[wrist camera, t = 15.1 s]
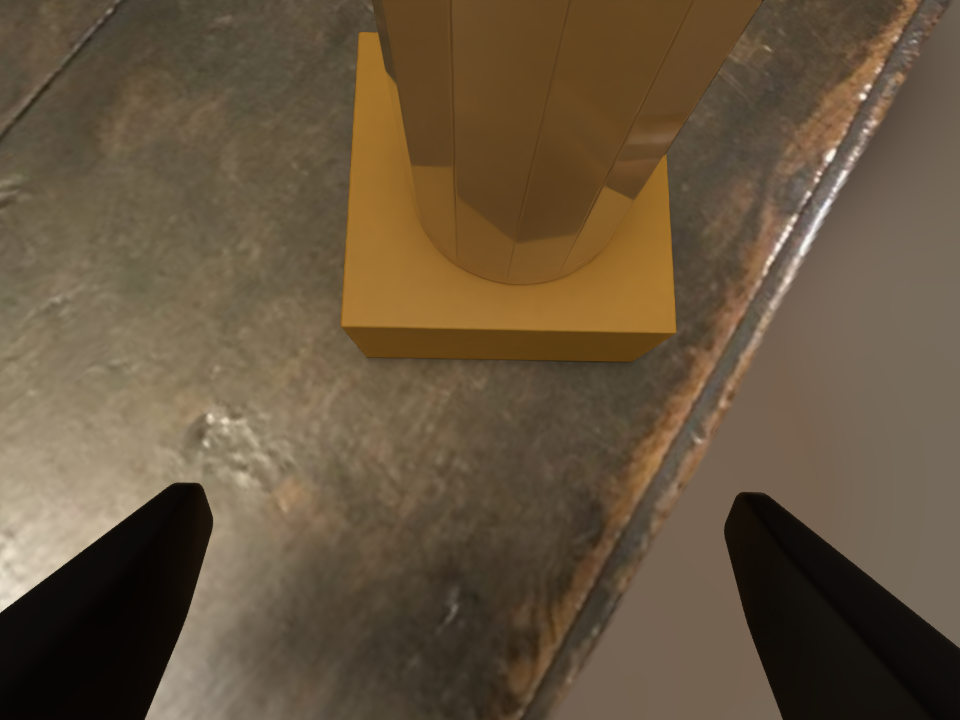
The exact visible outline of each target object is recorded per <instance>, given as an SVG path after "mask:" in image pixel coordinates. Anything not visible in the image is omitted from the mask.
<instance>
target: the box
mask: <svg viewBox="0 0 960 720" xmlns="http://www.w3.org/2000/svg"><path fill="white" fill-rule="evenodd" d="M341 327H342V328H343V329H344V331H345V332H346V333H347V334H348V335H349V337H350V338H351V339H352V340H353V341H354V343H355V344H356V345H357V346H358V347H359V349H360V350H361V351H362V352H363V353H364V355H365V356H366V357H385V358H441V359H496V360H551V361H606V362H632V361H634V360H635V359H637V358H639V357H640V356H642V355H643V354H645V353H646V352H648V351H649V350H651V349H652V348H654V347H655V346H657V345H659V344H660V343H662V342H663V341H665V340H666V339H668V338H669V337H671V336H672V335H674V334H676V332H677V330H676V313H675V295H674V278H673V260H672V243H671V225H670V208H669V190H668V173H667V155H666V154H665V156H664V157H663V159H662V161H661V162H660V164H659V165H658V167H657V168H656V170H655V171H654V173H653V175H652V176H651V178H650V179H649V181H648V182H647V184H646V186H645V187H644V189H643V190H642V192H641V193H640V195H639V196H638V198H637V200H636V201H635V203H634V204H633V206H632V207H631V209H630V211H629V212H628V214H627V215H626V217H625V218H624V220H623V221H622V223H621V224H620V226H619V227H618V229H617V230H616V232H615V233H614V235H613V236H612V238H611V239H610V241H609V242H608V244H607V245H606V247H605V248H604V249H603V250H602V251H601V252H600V253H599V254H598V255H597V256H596V257H594V258H593V259H592V260H591V261H590V262H589V263H587V264H586V265H584V266H583V267H581V268H580V269H578V270H576V271H574V272H572V273H570V274H568V275H566V276H564V277H561V278H558V279H555V280H552V281H548V282H543V283H538V284H525V285H521V284H506V283H500V282H495V281H491V280H488V279H485V278H481V277H479V276H477V275H474V274H472V273H470V272H468V271H466V270H464V269H463V268H461V267H459V266H458V265H456V264H454V263H453V262H452V261H451V260H449V259H448V258H447V257H446V256H444V255H443V254H442V253H441V252H440V251H439V250H438V249H437V247H436V246H435V245H434V244H433V243H432V242H431V240H430V239H429V237H428V236H427V235H426V233H425V232H424V230H423V228H422V226H421V224H420V222H419V220H418V217H417V215H416V212H415V210H414V206H413V201H412V197H411V192H410V189H409V186H408V183H407V180H406V176H405V171H404V166H403V160H402V155H401V150H400V145H399V140H398V134H397V129H396V124H395V119H394V113H393V108H392V103H391V98H390V93H389V87H388V82H387V77H386V72H385V67H384V61H383V56H382V51H381V46H380V41H379V35H378V33H376V32H359V38H358V54H357V70H356V86H355V102H354V118H353V134H352V150H351V166H350V182H349V198H348V214H347V230H346V246H345V262H344V278H343V294H342V310H341Z"/></svg>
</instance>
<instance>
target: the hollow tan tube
mask: <svg viewBox="0 0 960 720" xmlns="http://www.w3.org/2000/svg"><path fill="white" fill-rule="evenodd" d="M763 1H764V0H372V4H373V9H374V15H375V20H376V25H377V30H378V35H379V41H380V46H381V51H382V56H383V61H384V67H385V72H386V77H387V82H388V87H389V93H390V98H391V103H392V108H393V113H394V119H395V124H396V129H397V134H398V140H399V145H400V150H401V155H402V160H403V166H404V171H405V176H406V180H407V183H408V186H409V189H410V192H411V197H412V201H413V206H414V210H415V212H416V215H417V217H418V220H419V222H420V224H421V226H422V228H423V230H424V232H425V233H426V235H427V236H428V237H429V239H430V240H431V242H432V243H433V244H434V245H435V246H436V247H437V249H438V250H439V251H440V252H441V253H442V254H443V255H444V256H446V257H447V258H448V259H449V260H451V261H452V262H453V263H454V264H456V265H458V266H459V267H461V268H463V269H464V270H466V271H468V272H470V273H472V274H474V275H477V276H479V277H481V278H485V279H488V280H491V281H495V282H500V283H506V284H521V285H525V284H538V283H543V282H548V281H552V280H555V279H558V278H561V277H564V276H566V275H568V274H570V273H572V272H574V271H576V270H578V269H580V268H581V267H583V266H584V265H586V264H587V263H589V262H590V261H591V260H592V259H593V258H594V257H596V256H597V255H598V254H599V253H600V252H601V251H602V250H603V249H604V248H605V247H606V245H607V244H608V242H609V241H610V239H611V238H612V236H613V235H614V233H615V232H616V230H617V229H618V227H619V226H620V224H621V223H622V221H623V220H624V218H625V217H626V215H627V214H628V212H629V211H630V209H631V207H632V206H633V204H634V203H635V201H636V200H637V198H638V196H639V195H640V193H641V192H642V190H643V189H644V187H645V186H646V184H647V182H648V181H649V179H650V178H651V176H652V175H653V173H654V171H655V170H656V168H657V167H658V165H659V164H660V162H661V161H662V159H663V157H664V156H665V154H666V153H667V151H668V150H669V148H670V146H671V145H672V143H673V142H674V140H675V139H676V137H677V136H678V134H679V132H680V131H681V129H682V128H683V126H684V125H685V123H686V121H687V120H688V118H689V117H690V115H691V114H692V112H693V111H694V109H695V107H696V106H697V104H698V103H699V101H700V100H701V98H702V96H703V95H704V93H705V92H706V90H707V89H708V87H709V86H710V84H711V82H712V81H713V79H714V78H715V76H716V75H717V73H718V71H719V70H720V68H721V67H722V65H723V64H724V62H725V61H726V59H727V57H728V56H729V54H730V53H731V51H732V50H733V48H734V46H735V45H736V43H737V42H738V40H739V39H740V37H741V36H742V34H743V32H744V31H745V29H746V28H747V26H748V25H749V23H750V21H751V20H752V18H753V17H754V15H755V14H756V12H757V11H758V9H759V7H760V6H761V4H762V3H763Z"/></svg>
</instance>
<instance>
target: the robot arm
mask: <svg viewBox="0 0 960 720" xmlns="http://www.w3.org/2000/svg"><path fill="white" fill-rule="evenodd" d="M212 528H213V516H212V512H211V509H210V506H209V503H208V500H207V498H206V495H205V492H204V489H203V487H202V486H201V485H200V484H199V483H174V484H172V485H170V486H168V487H167V488H166V489H164V490H163V491H162V492H160V493H159V494H158V495H156V496H155V497H154V498H152V499H151V500H150V501H148V502H147V503H146V504H144V505H143V506H142V507H140V508H139V509H138V510H136V511H135V512H134V513H132V514H131V515H130V516H128V517H127V518H126V519H124V520H123V521H122V522H120V523H119V524H118V525H116V526H115V527H114V528H112V529H111V530H110V531H109V532H107V533H106V534H105V535H103V536H102V537H101V538H99V539H98V540H97V541H95V542H94V543H93V544H91V545H90V546H89V547H87V548H86V549H85V550H83V551H82V552H81V553H79V554H78V555H77V556H75V557H74V558H73V559H71V560H70V561H69V562H67V563H66V564H65V565H63V566H62V567H61V568H59V569H58V570H57V571H55V572H54V573H53V574H51V575H50V576H49V577H47V578H46V579H45V580H43V581H42V582H41V583H39V584H38V585H37V586H35V587H34V588H33V589H31V590H30V591H29V592H27V593H26V594H25V595H23V596H22V597H21V598H19V599H18V600H17V601H15V602H14V603H13V604H11V605H10V606H9V607H7V608H6V609H5V610H3V611H2V612H1V613H0V720H145V718H146V715H147V713H148V710H149V708H150V705H151V703H152V701H153V698H154V696H155V693H156V691H157V688H158V686H159V684H160V681H161V679H162V676H163V674H164V672H165V669H166V667H167V664H168V662H169V659H170V657H171V655H172V652H173V650H174V647H175V645H176V642H177V640H178V638H179V635H180V633H181V630H182V627H183V625H184V622H185V620H186V617H187V614H188V611H189V607H190V604H191V601H192V598H193V594H194V591H195V587H196V584H197V580H198V577H199V574H200V570H201V567H202V563H203V560H204V556H205V553H206V549H207V546H208V543H209V539H210V536H211V532H212ZM724 535H725V540H726V544H727V548H728V552H729V555H730V560H731V564H732V567H733V571H734V575H735V579H736V583H737V587H738V591H739V595H740V598H741V602H742V606H743V610H744V613H745V617H746V620H747V624H748V627H749V629H750V632H751V635H752V638H753V641H754V644H755V646H756V649H757V652H758V654H759V657H760V660H761V662H762V665H763V668H764V670H765V673H766V676H767V678H768V681H769V684H770V686H771V689H772V692H773V694H774V697H775V699H776V702H777V705H778V708H779V710H780V713H781V716H782V718H783V720H960V648H959V647H957V646H956V645H955V644H954V643H952V642H951V641H950V640H949V639H947V638H946V637H945V636H944V635H942V634H941V633H940V632H939V631H937V630H936V629H935V628H934V627H932V626H931V625H930V624H929V623H927V622H926V621H925V620H923V619H922V618H921V617H920V616H919V615H917V614H916V613H915V612H913V611H912V610H911V609H910V608H909V607H907V606H906V605H905V604H904V603H902V602H901V601H900V600H898V599H897V598H896V597H895V596H894V595H892V594H891V593H890V592H889V591H887V590H886V589H885V588H884V587H882V586H881V585H880V584H878V583H877V582H876V581H875V580H873V579H872V578H871V577H870V576H869V575H867V574H866V573H865V572H863V571H862V570H861V569H860V568H858V567H857V566H856V565H855V564H853V563H852V562H851V561H850V560H848V559H847V558H846V557H845V556H843V555H842V554H841V553H840V552H838V551H837V550H836V549H835V548H833V547H832V546H831V545H830V544H828V543H827V542H826V541H824V540H823V539H822V538H821V537H819V536H818V535H817V534H816V533H814V532H813V531H812V530H811V529H810V528H808V527H807V526H806V525H805V524H803V523H802V522H801V521H800V520H798V519H797V518H796V517H794V516H793V515H792V514H791V513H790V512H788V511H787V510H785V508H783V507H782V506H781V505H780V504H778V503H777V502H776V501H775V500H773V499H772V498H771V497H769V496H768V495H766V494H764V493H761V492H741V493H739V494H738V495H737V496H736V498H735V500H734V503H733V505H732V508H731V510H730V513H729V515H728V518H727V520H726V523H725V527H724Z"/></svg>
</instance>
